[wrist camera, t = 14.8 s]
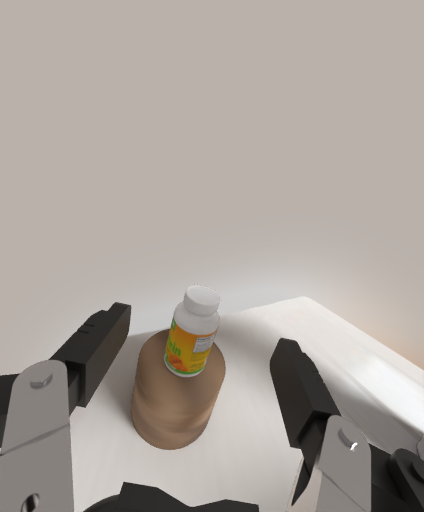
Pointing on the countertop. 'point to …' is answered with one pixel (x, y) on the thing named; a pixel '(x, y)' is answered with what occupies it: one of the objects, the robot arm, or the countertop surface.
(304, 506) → the robot arm
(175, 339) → the supplement bottle
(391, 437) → the countertop surface
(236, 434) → the countertop surface
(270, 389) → the countertop surface
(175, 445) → the walnut block
